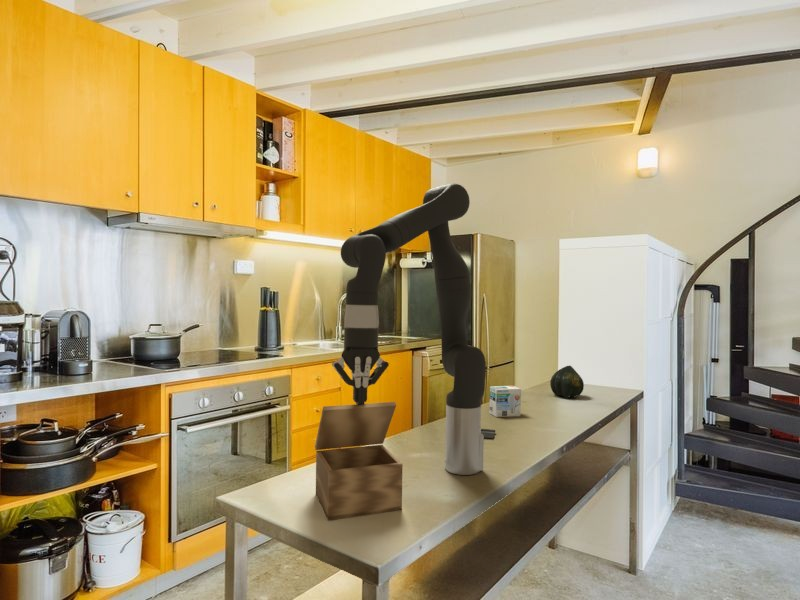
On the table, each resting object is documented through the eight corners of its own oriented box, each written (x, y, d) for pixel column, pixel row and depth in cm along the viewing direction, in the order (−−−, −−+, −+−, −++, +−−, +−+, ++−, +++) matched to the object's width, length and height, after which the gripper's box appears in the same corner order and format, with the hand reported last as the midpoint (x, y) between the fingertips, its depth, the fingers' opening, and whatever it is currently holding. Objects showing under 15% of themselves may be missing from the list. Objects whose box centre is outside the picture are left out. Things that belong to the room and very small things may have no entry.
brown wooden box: (381, 485, 119) (382, 444, 119) (401, 509, 106) (402, 463, 106) (315, 494, 114) (316, 450, 114) (328, 520, 101) (329, 471, 100)
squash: (552, 387, 221) (573, 362, 222) (539, 383, 236) (560, 359, 237) (574, 408, 222) (596, 383, 223) (561, 402, 237) (581, 379, 238)
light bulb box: (495, 417, 188) (496, 389, 188) (488, 413, 195) (489, 386, 194) (521, 416, 191) (521, 388, 190) (513, 412, 197) (513, 385, 197)
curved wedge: (455, 430, 170) (455, 426, 170) (495, 434, 167) (495, 429, 167) (451, 437, 162) (451, 432, 162) (493, 441, 159) (493, 436, 159)
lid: (383, 443, 119) (381, 439, 120) (396, 405, 111) (395, 401, 111) (315, 450, 114) (314, 445, 114) (323, 410, 105) (323, 406, 106)
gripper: (384, 325, 115) (382, 399, 115) (328, 324, 110) (326, 402, 110) (395, 326, 108) (393, 406, 108) (335, 326, 103) (334, 409, 103)
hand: (359, 404), depth 109 cm, fingers closed
